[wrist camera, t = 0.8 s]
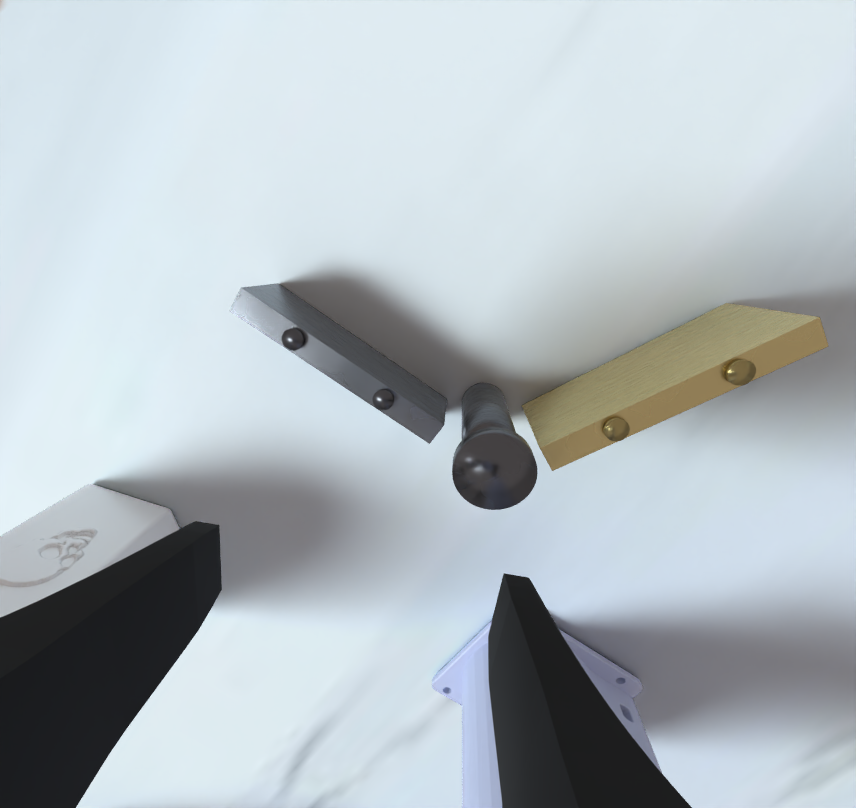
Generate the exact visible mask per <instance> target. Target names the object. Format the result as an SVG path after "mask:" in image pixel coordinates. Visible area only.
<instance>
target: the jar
mask: <svg viewBox="0 0 856 808" xmlns="http://www.w3.org/2000/svg"><path fill="white" fill-rule="evenodd" d="M179 529H180V528H179V526H178V524H177V522H176V520H175V517H174V515H173V513H172V511H171V510H170V509H169V508H165V507H162V506H159V505H156V504H153V503H150V502H147V501H144V500H141V499H137V498H134V497H131V496H128V495H125V494H122V493H119V492H116V491H112V490H109V489H106V488H103V487H100V486H97V485H94V484H88V485H85V486H84V487H82V488H80V489H79V490H77V491H75V492H74V493H72V494H70V495H68V496H67V497H65V498H63V499H62V500H60V501H58V502H57V503H55V504H53V505H52V506H50V507H48V508H47V509H45V510H43V511H41V512H40V513H38V514H36V515H35V516H33V517H31V518H30V519H28V520H26V521H25V522H23V523H21V524H20V525H18V526H16V527H15V528H13V529H11V530H9V531H8V532H6V533H4V534H3V535H1V536H0V617H3V616H5V615H7V614H10V613H12V612H14V611H17V610H19V609H21V608H23V607H26V606H28V605H30V604H32V603H34V602H37V601H39V600H41V599H43V598H45V597H47V596H49V595H51V594H53V593H55V592H58V591H60V590H62V589H64V588H66V587H68V586H70V585H72V584H74V583H76V582H78V581H80V580H82V579H84V578H86V577H89V576H91V575H93V574H95V573H97V572H99V571H101V570H103V569H105V568H107V567H108V566H110V565H112V564H114V563H116V562H118V561H120V560H122V559H124V558H126V557H128V556H130V555H131V554H133V553H135V552H137V551H139V550H141V549H143V548H145V547H147V546H149V545H150V544H152V543H154V542H156V541H158V540H160V539H162V538H164V537H166V536H167V535H169V534H171V533H173V532H175V531H177V530H179Z"/></svg>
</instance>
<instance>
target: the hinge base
mask: <svg viewBox="0 0 856 808" xmlns="http://www.w3.org/2000/svg"><path fill="white" fill-rule="evenodd" d="M230 312H232V313H233V314H235V315H236V316H238V317H239V318H241V319H242V320H244V321H245V322H247V323H248V324H250V325H251V326H253V327H254V328H256V329H257V330H259V331H260V332H262V333H263V334H265V335H266V336H268V337H270V338H271V339H273V340H274V341H276V342H277V343H279V344H280V345H282V346H283V347H285V348H286V349H288V350H289V351H291V352H292V353H294V354H295V355H297V356H298V357H300V358H301V359H303V360H304V361H306V362H307V363H309V364H310V365H312V366H313V367H315V368H316V369H318V370H319V371H321V372H322V373H324V374H325V375H327V376H328V377H330V378H331V379H333V380H334V381H336V382H337V383H339V384H340V385H342V386H343V387H345V388H346V389H348V390H349V391H351V392H352V393H354V394H355V395H357V396H358V397H360V398H361V399H363V400H364V401H366V402H367V403H369V404H371V405H372V406H374V407H375V408H377V409H378V410H380V411H381V412H383V413H384V414H386V415H387V416H389V417H390V418H392V419H393V420H395V421H396V422H398V423H399V424H401V425H402V426H404V427H405V428H407V429H408V430H410V431H411V432H413V433H414V434H416V435H417V436H419V437H420V438H422V439H423V440H425V441H426V442H428V443H429V444H430V443H431V441H432V440H433V439H434V437H435V436H436V435H437V434H438V432H439V431H440V430H441V428H442V427H443V426H444V422H445V412H446V403H447V399H446V398H445V397H443V396H442V395H440V394H439V393H437V392H436V391H435V390H433V389H432V388H430V387H429V386H427V385H426V384H424V383H423V382H421V381H420V380H418V379H417V378H416V377H414V376H413V375H411V374H410V373H408V372H407V371H405V370H404V369H402V368H401V367H399V366H398V365H397V364H395V363H394V362H392V361H391V360H389V359H388V358H386V357H385V356H383V355H382V354H381V353H379V352H378V351H376V350H375V349H373V348H372V347H370V346H369V345H367V344H366V343H364V342H363V341H362V340H360V339H359V338H357V337H356V336H354V335H353V334H351V333H350V332H348V331H347V330H345V329H344V328H343V327H341V326H340V325H338V324H337V323H335V322H334V321H332V320H331V319H329V318H328V317H326V316H325V315H324V314H322V313H321V312H319V311H318V310H316V309H315V308H313V307H312V306H310V305H309V304H307V303H306V302H305V301H303V300H302V299H300V298H299V297H297V296H296V295H294V294H293V293H291V292H290V291H289V290H287V289H286V288H284V287H283V286H281V285H280V284H270V285H261V286H252V287H244V288H241V289H240V291H239V293H238V295H237V297H236V299H235V301H234V303H233V305H232V307H231V309H230ZM452 475H453V481H454V484H455V487H456V489H457V490H458V492H459V493H460V495H461V496H462V497H463V498H464V499H465V500H467V501H468V502H469V503H471V504H473V505H475V506H477V507H480V508H484V509H491V510H498V509H505V508H509V507H511V506H514V505H516V504H518V503H520V502H521V501H522V500H524V499H525V498H526V497H527V496H528V495H529V493H530V492H531V491H532V489H533V487H534V485H535V483H536V479H537V465H536V461H535V458H534V456H533V453H532V450H531V448H530V446H529V445H528V443H527V442H526V441H525V440H524V439H523V438H522V437H521V436H520V435H518V434H517V433H516V432H515V429H514V425H513V422H512V419H511V416H510V413H509V410H508V407H507V404H506V401H505V398H504V395H503V393H502V392H501V390H500V389H499V388H497V387H496V386H494V385H492V384H489V383H479V384H476V385H473V386H472V387H470V388H469V389H468V390H467V391H466V392H465V394H464V396H463V398H462V441H461V442H460V444H459V445H458V447H457V449H456V451H455V453H454V457H453V471H452Z"/></svg>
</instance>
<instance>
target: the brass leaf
mask: <svg viewBox="0 0 856 808" xmlns="http://www.w3.org/2000/svg"><path fill="white" fill-rule="evenodd" d="M826 347H828V343H827V340H826V336H825V333H824V330H823V326H822V323H821V320H820V317H815V316H808V315H802V314H795V313H788V312H782V311H775V310H769V309H762V308H756V307H749V306H742V305H736V304H729V303H726V304H724V305H722V306H720V307H718V308H716V309H714V310H712V311H710V312H708V313H706V314H704V315H702V316H700V317H698V318H696V319H694V320H692V321H690V322H688V323H686V324H684V325H682V326H680V327H678V328H676V329H674V330H672V331H670V332H668V333H666V334H664V335H662V336H660V337H658V338H656V339H654V340H652V341H650V342H648V343H646V344H644V345H642V346H640V347H638V348H636V349H634V350H632V351H630V352H628V353H626V354H624V355H622V356H620V357H618V358H616V359H614V360H612V361H610V362H608V363H606V364H604V365H602V366H600V367H598V368H596V369H594V370H592V371H590V372H588V373H586V374H584V375H582V376H580V377H578V378H576V379H574V380H572V381H570V382H568V383H566V384H564V385H562V386H560V387H558V388H556V389H554V390H552V391H550V392H548V393H546V394H544V395H542V396H540V397H538V398H536V399H534V400H532V401H530V402H528V403H526V404H524V405H522V407H523V410H524V412H525V414H526V417H527V419H528V421H529V424H530V426H531V428H532V431H533V433H534V436H535V438H536V440H537V443H538V445H539V447H540V449H541V451H542V453H543V455H544V457H545V458H546V460H547V462H548V464H549V466H550V468H551V469H552V471H553V470H555V469H558V468H560V467H562V466H564V465H566V464H569V463H571V462H573V461H575V460H578V459H580V458H582V457H584V456H586V455H589V454H591V453H593V452H595V451H598V450H600V449H602V448H604V447H606V446H609V445H611V444H613V443H615V442H617V441H621V440H623V439H624V438H626V437H629V436H631V435H633V434H635V433H637V432H640V431H642V430H644V429H646V428H649V427H651V426H653V425H655V424H657V423H660V422H662V421H664V420H666V419H668V418H671V417H673V416H675V415H677V414H680V413H682V412H684V411H686V410H688V409H691V408H693V407H695V406H697V405H700V404H702V403H704V402H706V401H708V400H711V399H713V398H715V397H717V396H719V395H722V394H724V393H726V392H728V391H731V390H733V389H735V388H737V387H739V386H742V385H745V384H747V383H749V382H750V381H753V380H755V379H757V378H759V377H762V376H764V375H766V374H768V373H770V372H773V371H775V370H777V369H779V368H782V367H784V366H786V365H788V364H790V363H793V362H795V361H797V360H799V359H801V358H804V357H806V356H808V355H810V354H813V353H815V352H817V351H819V350H821V349H824V348H826Z"/></svg>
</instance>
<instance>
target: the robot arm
mask: <svg viewBox="0 0 856 808" xmlns="http://www.w3.org/2000/svg"><path fill="white" fill-rule="evenodd" d="M221 590H222V586H221V560H220V533H219V525H215V524H209V523H203V522H197V521H195V522H193V523H191V524H189V525H187V526H185V527H183V528H181V529H179V530H177V531H175V532H173V533H171V534H169V535H167V536H166V537H164V538H162V539H160V540H158V541H156V542H154V543H152V544H150V545H149V546H147V547H145V548H143V549H141V550H139V551H137V552H135V553H133V554H131V555H130V556H128V557H126V558H124V559H122V560H120V561H118V562H116V563H114V564H112V565H110V566H108V567H107V568H105V569H103V570H101V571H99V572H97V573H95V574H93V575H91V576H89V577H86V578H84V579H82V580H80V581H78V582H76V583H74V584H72V585H70V586H68V587H66V588H64V589H62V590H60V591H58V592H55V593H53V594H51V595H49V596H47V597H45V598H43V599H41V600H39V601H37V602H34V603H32V604H30V605H28V606H26V607H23V608H21V609H19V610H17V611H14V612H12V613H10V614H7V615H5V616H3V617H0V808H76V806H77V805H78V803H79V802H80V800H81V798H82V797H83V795H84V794H85V792H86V790H87V789H88V787H89V785H90V784H91V782H92V781H93V779H94V777H95V776H96V774H97V773H98V771H99V769H100V768H101V766H102V765H103V763H104V761H105V760H106V758H107V757H108V755H109V753H110V752H111V751H112V749H113V748H114V746H115V745H116V743H117V742H118V740H119V739H120V737H121V736H122V735H123V733H124V732H125V730H126V729H127V727H128V726H129V725H130V723H131V722H132V720H133V719H134V718H135V716H136V715H137V714H138V712H139V711H140V710H141V708H142V707H143V706H144V704H145V703H146V701H147V700H148V699H149V697H150V696H151V695H152V693H153V692H154V691H155V689H156V688H157V686H158V685H159V684H160V682H161V681H162V680H163V678H164V677H165V676H166V674H167V673H168V672H169V670H170V669H171V667H172V666H173V665H174V663H175V662H176V661H177V659H178V658H179V656H180V655H181V654H182V652H183V651H184V650H185V648H186V647H187V645H188V644H189V643H190V641H191V640H192V638H193V637H194V636H195V634H196V633H197V631H198V630H199V628H200V627H201V625H202V623H203V622H204V620H205V618H206V616H207V615H208V613H209V611H210V610H211V608H212V606H213V604H214V602H215V600H216V599H217V597H218V595H219V593H220V591H221ZM432 687H433V689H434V690H436V691H437V692H439V693H441V694H443V695H444V696H446V697H448V698H450V699H451V700H453V701H455V702H457V703H458V704H460V705H462V808H692V807H691V806H690V805H689V804H688V803H687V802H686V801H685V799H684V798H683V797H682V796H681V795H680V794H679V793H678V792H677V790H676V789H675V788H674V787H673V786H672V785H671V784H670V783H669V781H668V780H667V779H666V778H665V777H664V775H663V774H662V772H661V769H660V767H659V764H658V762H657V759H656V756H655V754H654V751H653V749H652V746H651V744H650V741H649V739H648V736H647V734H646V731H645V729H644V726H643V723H642V721H641V718H640V716H639V713H638V711H637V708H636V706H635V703H634V701H633V698H634V697H635V696H637V695H638V694H639V693H640V692H641V691H642V689H643V687H642V684H641V682H640V680H639V679H638V678H637V677H635V676H633V675H632V674H630V673H629V672H627V671H625V670H624V669H622V668H621V667H619V666H617V665H616V664H614V663H612V662H611V661H609V660H608V659H606V658H604V657H603V656H601V655H600V654H598V653H596V652H595V651H593V650H592V649H590V648H588V647H587V646H585V645H584V644H582V643H580V642H579V641H577V640H576V639H574V638H572V637H571V636H569V635H568V634H566V633H564V632H563V631H561V630H560V629H558V627H557V626H556V624H555V622H554V620H553V619H552V617H551V615H550V614H549V612H548V610H547V608H546V607H545V605H544V603H543V601H542V600H541V598H540V596H539V594H538V593H537V591H536V589H535V587H534V585H533V584H532V582H531V581H530V579H529V578H527V577H521V576H516V575H510V574H504V575H503V579H502V583H501V587H500V591H499V595H498V599H497V603H496V607H495V611H494V615H493V619H492V621H491V622H490V623H488V624H487V625H486V626H485V627H484V628H483V629H482V630H481V631H480V632H479V633H478V634H477V635H476V636H475V637H474V638H473V639H472V640H471V641H470V642H469V643H468V644H467V645H466V646H465V647H464V648H463V649H462V650H461V651H460V652H459V653H458V654H457V655H456V656H455V657H454V658H453V659H452V660H450V661H449V662H448V663H447V664H446V665H445V666H444V667H443V668H442V669H441V670H440V671H439V672H438V673H437V674H436V675H435V676H434V677H433V679H432Z"/></svg>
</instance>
